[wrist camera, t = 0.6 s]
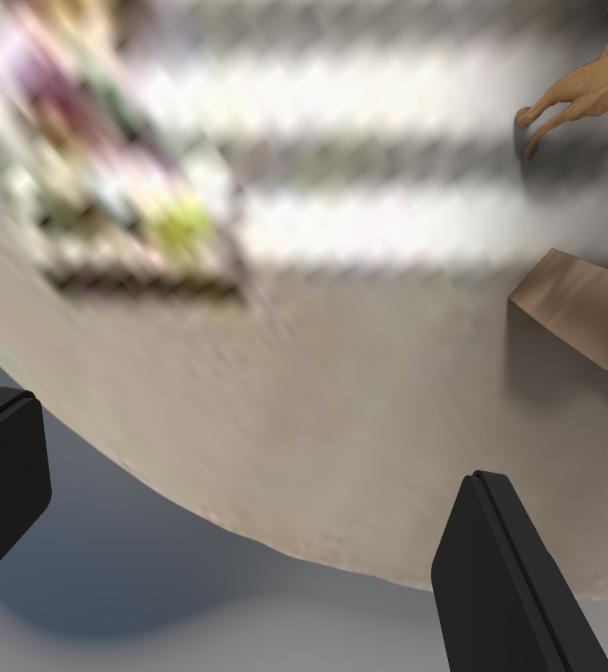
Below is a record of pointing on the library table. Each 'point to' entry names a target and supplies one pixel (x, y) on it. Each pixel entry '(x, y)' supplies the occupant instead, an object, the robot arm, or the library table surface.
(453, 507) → the robot arm
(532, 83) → the library table surface
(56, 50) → the library table surface
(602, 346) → the walnut block
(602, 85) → the lion figurine
